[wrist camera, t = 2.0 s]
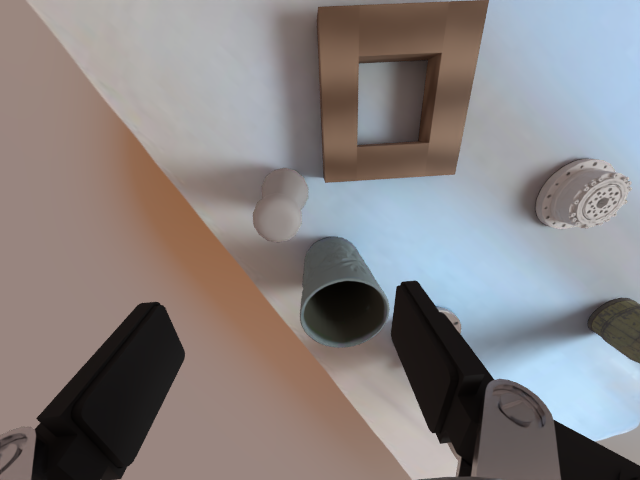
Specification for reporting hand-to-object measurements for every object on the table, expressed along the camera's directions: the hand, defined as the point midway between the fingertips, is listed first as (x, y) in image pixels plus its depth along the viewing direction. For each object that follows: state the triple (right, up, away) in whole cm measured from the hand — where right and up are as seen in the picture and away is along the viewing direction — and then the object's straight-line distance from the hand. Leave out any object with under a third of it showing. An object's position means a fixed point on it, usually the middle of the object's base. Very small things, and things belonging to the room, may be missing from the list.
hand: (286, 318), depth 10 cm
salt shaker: (-3, +10, +22) cm, 25 cm away
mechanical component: (+38, +10, +25) cm, 46 cm away
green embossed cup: (+4, 0, +27) cm, 28 cm away
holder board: (+9, +19, +18) cm, 28 cm away
